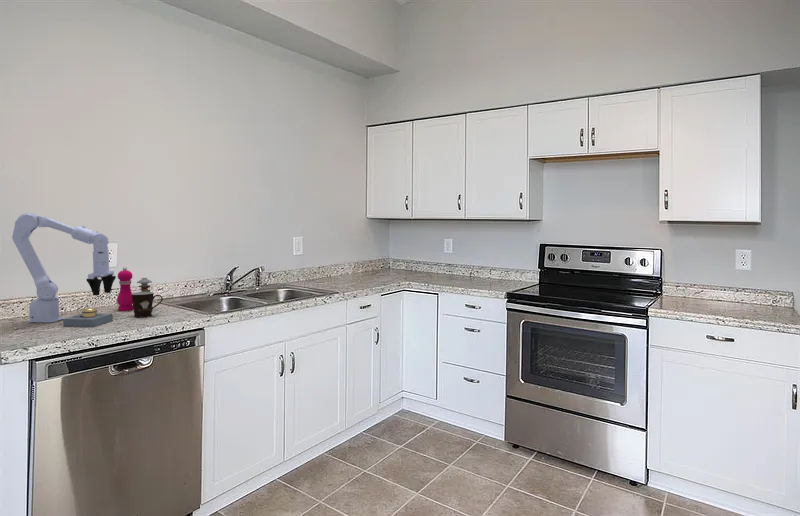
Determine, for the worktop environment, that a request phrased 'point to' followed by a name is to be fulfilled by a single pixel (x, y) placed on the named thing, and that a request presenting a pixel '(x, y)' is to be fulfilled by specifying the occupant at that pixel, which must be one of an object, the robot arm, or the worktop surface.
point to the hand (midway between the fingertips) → (102, 294)
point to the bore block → (87, 320)
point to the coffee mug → (143, 303)
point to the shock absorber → (144, 285)
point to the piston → (89, 312)
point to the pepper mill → (125, 291)
